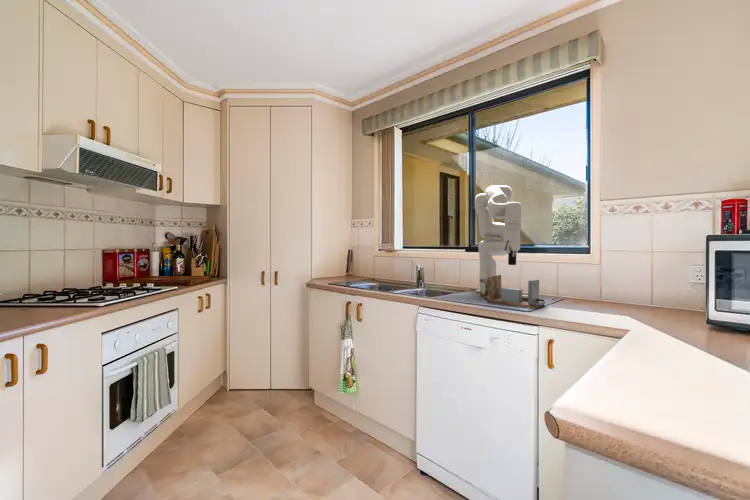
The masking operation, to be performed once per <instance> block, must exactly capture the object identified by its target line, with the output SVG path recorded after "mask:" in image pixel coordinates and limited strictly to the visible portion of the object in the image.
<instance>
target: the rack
mask: <svg viewBox="0 0 750 500" xmlns="http://www.w3.org/2000/svg"><path fill="white" fill-rule="evenodd" d="M501 288H502V274H496V275H495V276H488V294H487V299H486V301H487V303H488V304H489V303H491V304H498V305H505V306H512V307H518V306H520V307H519V308H525V307H531V308H530V309H532V308H535V309H537V308H536V307H538V308H540V307H539V306H542V305H544V306H545V303H544V304H541V305H531V304H528V296H522V302H519V303H518V302H510V301H503V300H501ZM539 301H545V299H544V298H539ZM542 307H543V306H542Z"/></svg>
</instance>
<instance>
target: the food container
mask: <svg viewBox="0 0 750 500" xmlns="http://www.w3.org/2000/svg"><path fill="white" fill-rule="evenodd" d="M479 278H480V277H479ZM479 282H480V292H479V297H480V298H481V299H483V300H487V294H488V279H481V278H480V281H479Z"/></svg>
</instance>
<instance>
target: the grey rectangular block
mask: <svg viewBox="0 0 750 500" xmlns="http://www.w3.org/2000/svg"><path fill="white" fill-rule="evenodd" d="M522 297H523V289H521V288H511V287H501V300H503V301H510V302H518V303H519V302H522Z"/></svg>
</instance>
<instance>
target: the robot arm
mask: <svg viewBox="0 0 750 500" xmlns="http://www.w3.org/2000/svg"><path fill="white" fill-rule="evenodd" d="M512 197H513V190H512V188H511V187H510V186H508V185H490V186H488V187H487V188H486V189H485V192H484V193H483V192H482V193H478V194H477V195H476V196H475V198H474V207H475V212H476V213H477V217H478V227H479V228H478V229H479V235H480V237H481V238H483V239H482V240H481V241H479V243H478V246H477V247H478V256H479V257H478V258H479V281H480V278H481V279H488V276H495V275H497V262H496V259H495V258H494V256H499V257H501V256H503V257H504V256H507V258H508V259H507V262H508V265H509V266H516V265H517V253H519V251H520V250H521V244H522V243H521V231H522V203H521V202H519V201H511V200H512ZM510 201H511V202H510ZM494 219H504V222H503V223H502V222H494V221H495V220H494ZM478 284H479V285H478V287H479V288H478V289H476V292H477V293H480V282H479V283H478Z"/></svg>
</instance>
